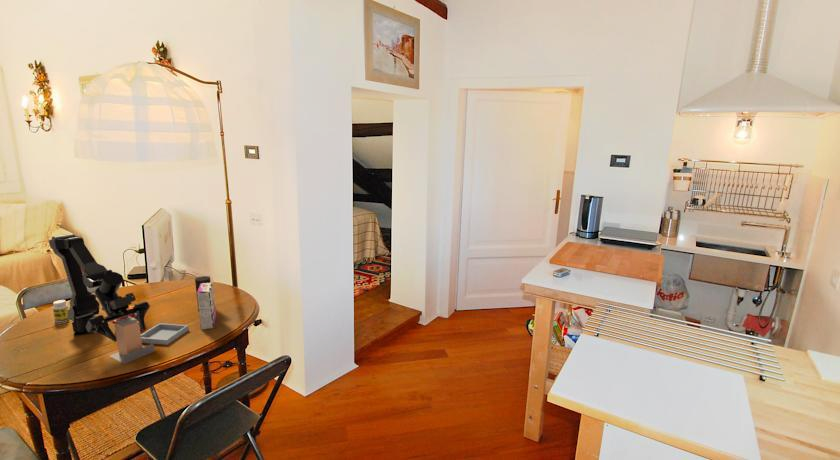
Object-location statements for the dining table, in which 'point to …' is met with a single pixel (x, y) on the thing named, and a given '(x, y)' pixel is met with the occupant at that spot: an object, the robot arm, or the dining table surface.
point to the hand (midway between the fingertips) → (130, 335)
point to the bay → (133, 354)
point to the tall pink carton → (128, 335)
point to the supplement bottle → (60, 311)
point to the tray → (163, 333)
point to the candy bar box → (206, 305)
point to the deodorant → (201, 280)
